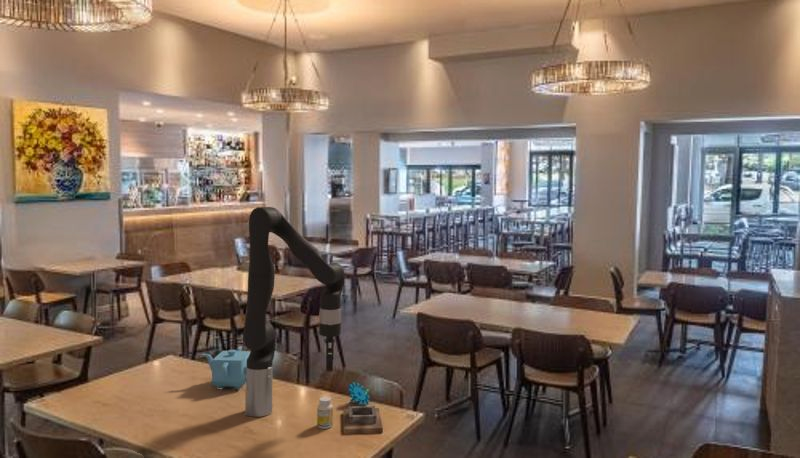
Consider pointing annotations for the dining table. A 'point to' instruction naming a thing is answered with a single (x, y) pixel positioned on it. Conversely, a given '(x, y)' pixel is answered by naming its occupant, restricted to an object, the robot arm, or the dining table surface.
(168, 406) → the dining table surface
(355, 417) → the socket stand
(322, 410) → the supplement bottle
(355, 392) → the gear
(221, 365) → the teakettle
